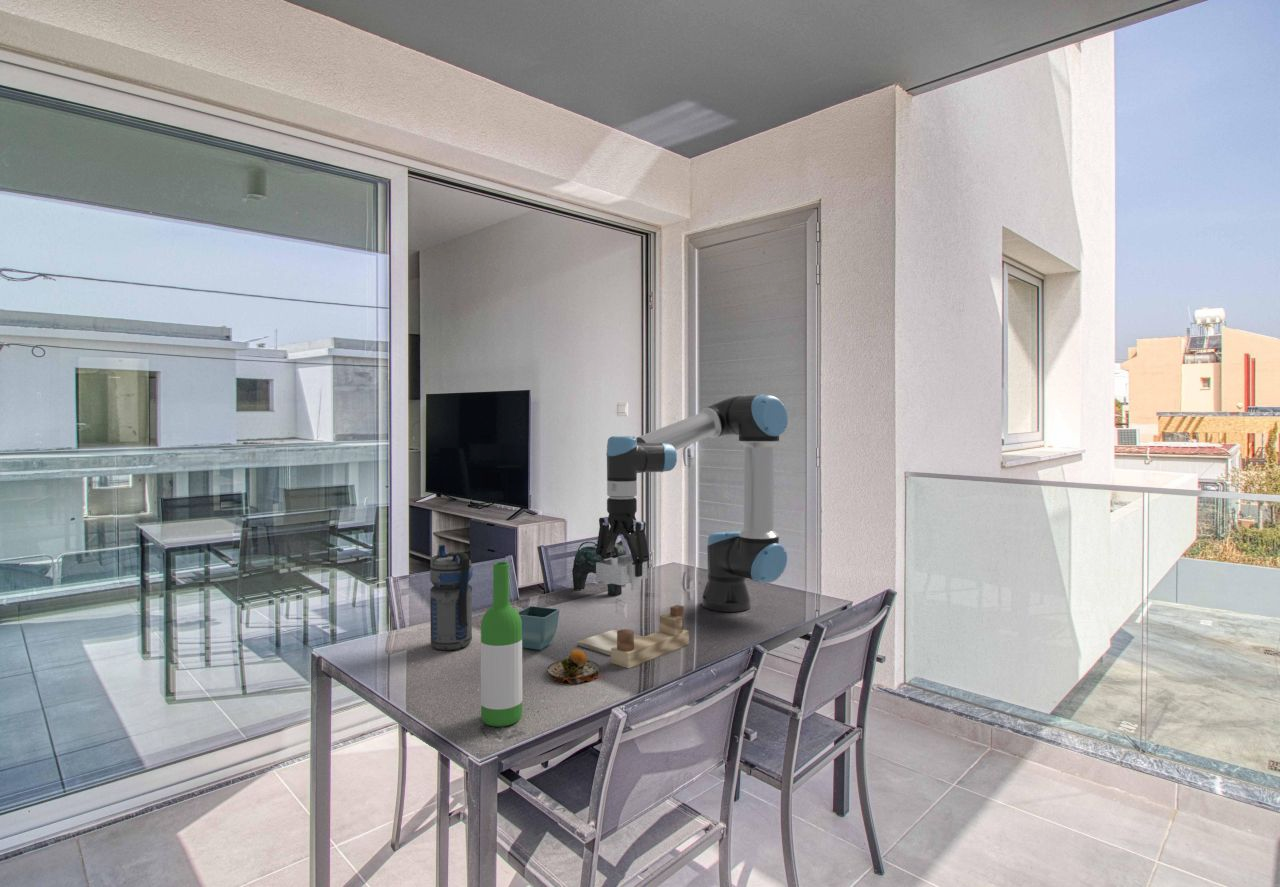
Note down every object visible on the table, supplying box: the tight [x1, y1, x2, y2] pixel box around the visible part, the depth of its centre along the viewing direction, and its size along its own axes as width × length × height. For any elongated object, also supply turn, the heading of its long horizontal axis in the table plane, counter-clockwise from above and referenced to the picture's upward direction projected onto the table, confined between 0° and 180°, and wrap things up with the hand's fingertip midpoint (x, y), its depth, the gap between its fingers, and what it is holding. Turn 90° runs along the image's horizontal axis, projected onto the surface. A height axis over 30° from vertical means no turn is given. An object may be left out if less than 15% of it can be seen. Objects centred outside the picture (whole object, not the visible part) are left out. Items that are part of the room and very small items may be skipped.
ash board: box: [577, 628, 644, 657], centre depth 174 cm, size 14×12×1 cm
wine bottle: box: [480, 561, 523, 727], centre depth 129 cm, size 8×8×30 cm
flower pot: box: [517, 605, 560, 651], centre depth 172 cm, size 9×9×9 cm
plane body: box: [610, 604, 690, 669], centre depth 167 cm, size 23×6×10 cm, turn 138°
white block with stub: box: [595, 553, 648, 586], centre depth 172 cm, size 10×8×6 cm
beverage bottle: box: [429, 544, 474, 651], centre depth 172 cm, size 10×13×25 cm
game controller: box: [571, 540, 627, 597], centre depth 227 cm, size 20×6×20 cm, turn 58°
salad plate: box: [547, 644, 601, 685], centre depth 153 cm, size 12×12×8 cm
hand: (621, 586), depth 172 cm, fingers closed on white block with stub, 8 cm apart
